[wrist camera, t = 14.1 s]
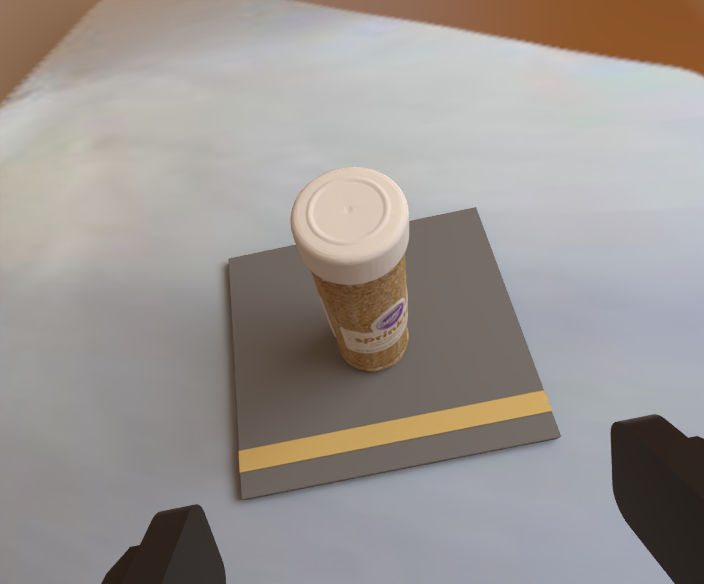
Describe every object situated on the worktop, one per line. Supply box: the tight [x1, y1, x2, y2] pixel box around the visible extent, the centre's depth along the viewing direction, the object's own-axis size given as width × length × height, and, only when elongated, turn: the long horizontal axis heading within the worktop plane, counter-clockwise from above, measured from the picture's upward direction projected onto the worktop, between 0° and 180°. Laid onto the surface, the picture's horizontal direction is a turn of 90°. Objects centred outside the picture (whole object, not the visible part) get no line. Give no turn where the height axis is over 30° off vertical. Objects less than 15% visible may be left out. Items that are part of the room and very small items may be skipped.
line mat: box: [229, 207, 561, 500], centre depth 29 cm, size 18×16×1 cm
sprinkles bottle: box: [291, 167, 409, 372], centre depth 23 cm, size 5×5×14 cm
